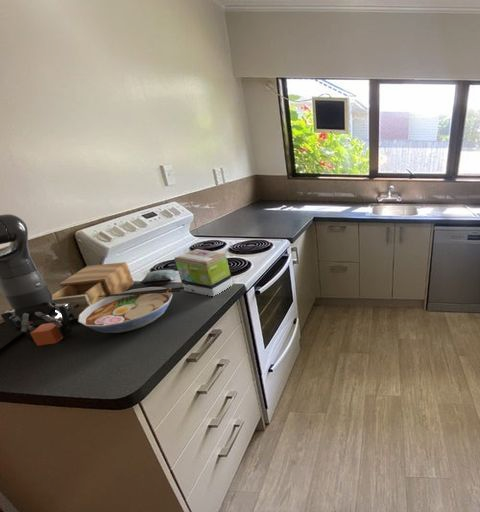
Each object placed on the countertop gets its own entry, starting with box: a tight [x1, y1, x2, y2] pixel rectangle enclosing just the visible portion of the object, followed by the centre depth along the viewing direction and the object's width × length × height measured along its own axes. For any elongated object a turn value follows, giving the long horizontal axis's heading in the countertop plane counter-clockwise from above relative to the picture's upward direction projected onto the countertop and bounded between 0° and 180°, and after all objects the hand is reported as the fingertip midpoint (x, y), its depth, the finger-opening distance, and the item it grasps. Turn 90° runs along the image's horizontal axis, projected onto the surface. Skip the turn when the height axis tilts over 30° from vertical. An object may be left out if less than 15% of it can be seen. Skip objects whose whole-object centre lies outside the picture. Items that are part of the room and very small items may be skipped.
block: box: [30, 322, 64, 347], centre depth 84 cm, size 4×4×4 cm
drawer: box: [51, 281, 109, 320], centre depth 96 cm, size 19×11×8 cm, turn 18°
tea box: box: [174, 248, 234, 298], centre depth 111 cm, size 15×10×15 cm
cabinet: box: [59, 261, 135, 297], centre depth 108 cm, size 16×13×10 cm
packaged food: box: [139, 269, 179, 286], centre depth 119 cm, size 9×12×5 cm
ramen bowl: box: [77, 286, 184, 334], centre depth 91 cm, size 25×23×8 cm
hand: (51, 337), depth 85 cm, fingers open, 6 cm apart
